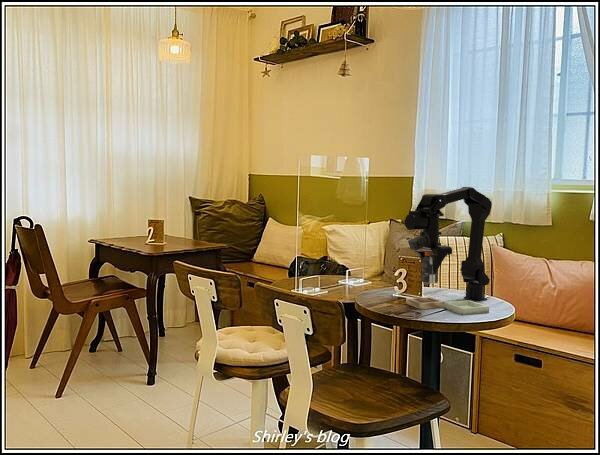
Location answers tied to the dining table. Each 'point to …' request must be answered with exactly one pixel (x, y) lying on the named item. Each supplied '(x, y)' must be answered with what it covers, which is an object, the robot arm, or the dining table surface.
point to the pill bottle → (428, 269)
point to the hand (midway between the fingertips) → (430, 271)
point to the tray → (466, 307)
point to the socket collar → (425, 302)
